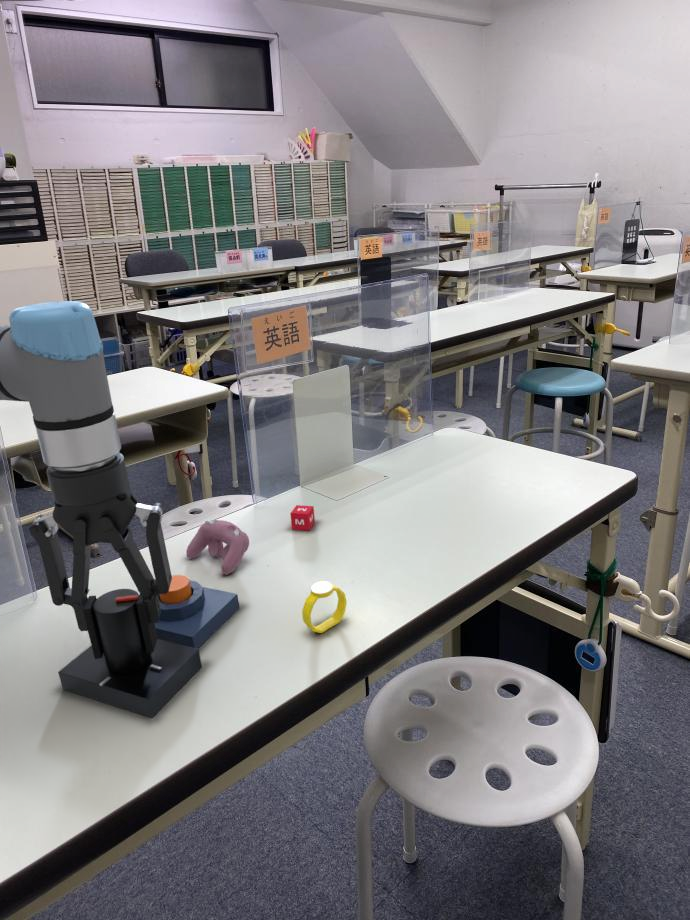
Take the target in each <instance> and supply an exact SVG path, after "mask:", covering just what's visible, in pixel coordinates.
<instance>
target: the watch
mask: <svg viewBox="0 0 690 920" xmlns="http://www.w3.org/2000/svg"><path fill="white" fill-rule="evenodd" d="M334 592H336V595H337V599H338V600H337V605H336V609H335V610H334V613H333V614H332V615H331V617H329V618H327V619H326V620H324V621H323V622H321V623H320V624H318V625H313V623H312V615H311V614H312V611H313V608H314V605H315V604H316V602H317V601H318V600H319V599H323V598H327V597H329V596H331V595H332V594H333V593H334ZM347 602H348V601H347V598H346V594H345V592H344V591H343V590H342V589H340V587H338V586H336V585H334V584H332V582H330V581H327V580H321V581H317V582H314V583H313V584H312V585H311V586H310V593H309V595H307V598H306V599H305V601H304V604H303V607H302V611H301V613H302V614H301V616H302V621H303V623H304V624H305V625H306V626H307V628H308V629H310V630H311V631H313V632H314V633H318V634H323V633H325V632H326V631H327V630H329V629H331V628H332V627H335V625H337V624H340V622H341V621H342V619H343V617H344V615H345V613H346V608H347Z"/></svg>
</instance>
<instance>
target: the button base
mask: <svg viewBox="0 0 690 920" xmlns="http://www.w3.org/2000/svg"><path fill="white" fill-rule="evenodd" d="M189 580H190V579H189ZM190 586H191V592H192V595H191V597H190V598H188V599H187V600H185V601H183V602H180V603H175V604H165V603H162V602H161V600H160V595H158V599H159V605H160V609H161V613H160V617H159V621H158V623H154V624H155V629H156V634H157V639H160V640H164V641H168V642H172V643H176V644H180V645H184V646H188V647H192V648H195V649H199V648H201V647H202V646H203V645H204V644H205V643H206V641H208V639H210V638H211V637H212V635H214V633H216V632H217V631H218V630H219V629H220V628H221V627H222V625H224V624H225V623H226V622H227V621H228V620H229V619H230V618H231V617H232V616H233V615H234V614H235V613H236V612H237V611H238V610H239V609H240V601H239V595H238V593H236V592H229V591H225V590H220V589H216V588H211V587H206V586H203V585H201V584H200V582H199V581H197V580H190Z"/></svg>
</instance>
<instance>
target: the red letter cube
mask: <svg viewBox="0 0 690 920" xmlns="http://www.w3.org/2000/svg"><path fill="white" fill-rule="evenodd" d="M314 507H315V506H313V505H301V504H299V505H298V504H296V505H295V506H294V508H293V509H292V510H291V512H290V522H291V529H292V530H294V531H295V530H297V531H309V532H310V531H311V529H312V528H313V526H314V525H315V523H316V518H315V508H314Z"/></svg>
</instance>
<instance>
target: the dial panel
mask: <svg viewBox="0 0 690 920" xmlns="http://www.w3.org/2000/svg"><path fill="white" fill-rule="evenodd" d="M200 654H201V653H200V649H199V648H198V649H195V648H192V647H188V646H184V645H180V644H176V643H172V642H168V641H164V640H160V639H157V641H156V645H155V648H154V652H152V653H151V659H150V661H149V662H148V663H147V664H146V665H145V666H144V667H142V668H141V669H139V670H137V671H134V672H131V673H127V674H115V673H112V672H110V671H109V670H108V669H107V666H106V662H105V657H104V653H103V656H102V658H99V659H95V658H94V654H93V650H92V646H91V645H90V646H89V647H87V648H86V649H85V650H84V651H82V652H81V653H80V654H78V655H77V656H76V657H75V658H73V659H72V660H71V661H70V662H69V663H67V664H66V665H65V666H63V667H62V668H60V670H58V671H57V672H58V673H57V674H58V677H59V681H60V685H61V688H62V690H63V691H66V692H69V693H72V694H75V695H79V696H81V697H84V698H88V699H92V700H94V701H97V702H101V703H104V704H106V705H111V706H113V707H117V708H120V709H123V710H126V711H128V712H129V711H130V712H133V713H136V714H139V715H141V716H144V717H147V718H151V719H153V717H155V716H156V715H157V713H159V712H160V711H161V710H162V708H163V707H164V706H165V705H166V704H167V703H168V702H169V701H170V700H171V699H172V698H173V697H174V696H175V695H176V694H177V693H178V692H179V691H180V690H181V689H182V688H183V687H184V686H185V685H186V684H187V683H188V681H190V680H191V678H193V677H194V675H196V673H197V672H198V671H199V670H200V669H201V668H202V667H203V664H202V659H201V655H200Z"/></svg>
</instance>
